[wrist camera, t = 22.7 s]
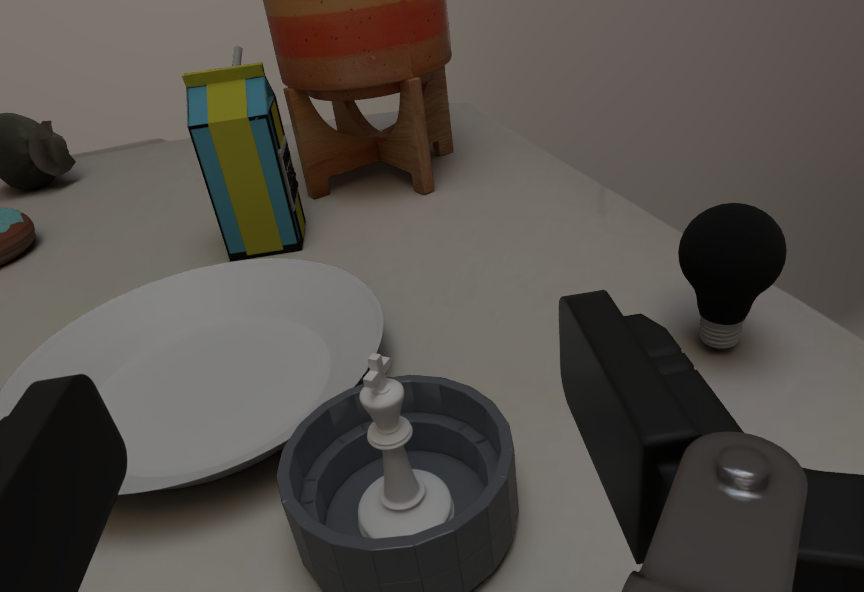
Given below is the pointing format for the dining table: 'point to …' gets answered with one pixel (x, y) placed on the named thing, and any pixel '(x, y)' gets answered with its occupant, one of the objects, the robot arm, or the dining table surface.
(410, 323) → the dining table surface
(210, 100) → the carton
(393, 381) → the chess piece
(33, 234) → the donut
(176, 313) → the white plate
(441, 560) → the grey round container
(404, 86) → the planter
